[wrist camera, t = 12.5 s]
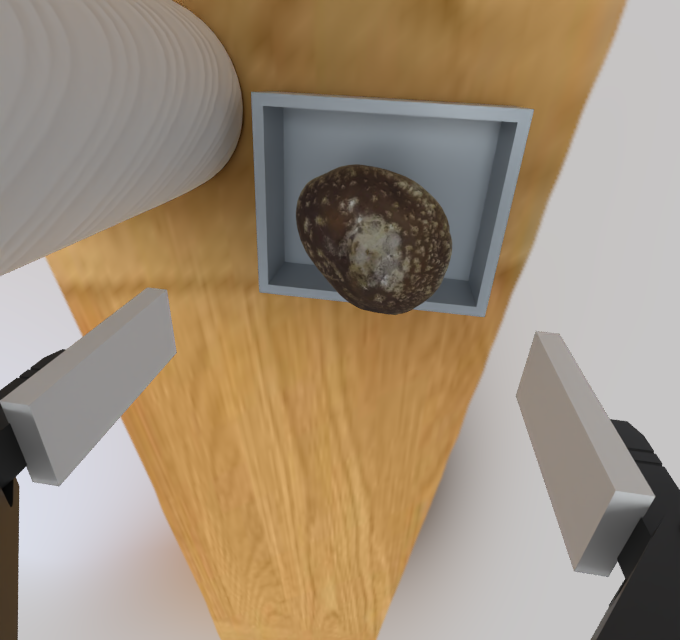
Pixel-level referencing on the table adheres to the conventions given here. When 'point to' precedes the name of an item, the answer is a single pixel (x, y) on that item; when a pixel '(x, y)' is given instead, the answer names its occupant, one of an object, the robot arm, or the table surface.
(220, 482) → the table surface
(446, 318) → the table surface
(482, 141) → the bin
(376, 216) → the mushroom
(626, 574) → the robot arm
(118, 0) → the vase
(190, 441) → the table surface
